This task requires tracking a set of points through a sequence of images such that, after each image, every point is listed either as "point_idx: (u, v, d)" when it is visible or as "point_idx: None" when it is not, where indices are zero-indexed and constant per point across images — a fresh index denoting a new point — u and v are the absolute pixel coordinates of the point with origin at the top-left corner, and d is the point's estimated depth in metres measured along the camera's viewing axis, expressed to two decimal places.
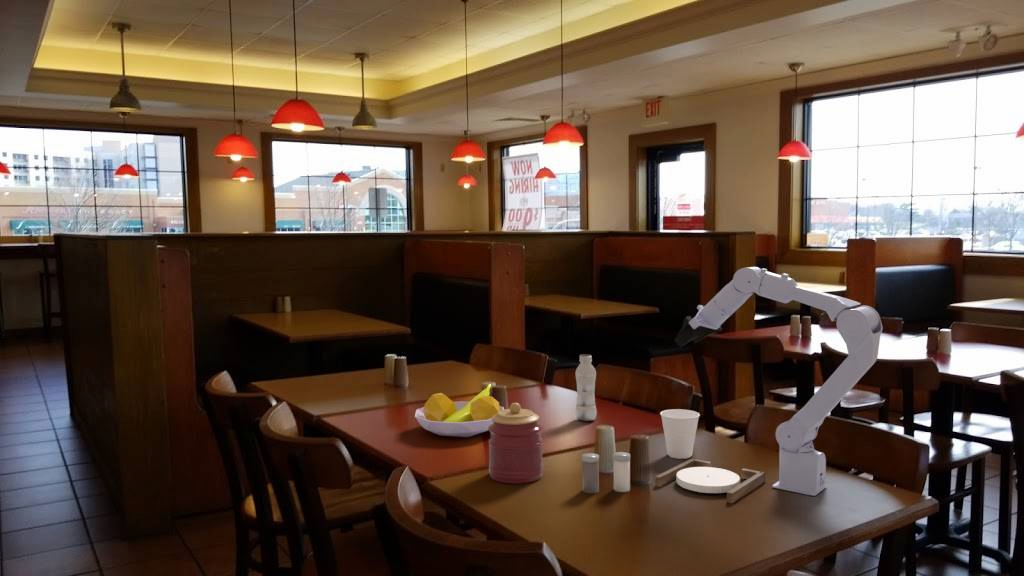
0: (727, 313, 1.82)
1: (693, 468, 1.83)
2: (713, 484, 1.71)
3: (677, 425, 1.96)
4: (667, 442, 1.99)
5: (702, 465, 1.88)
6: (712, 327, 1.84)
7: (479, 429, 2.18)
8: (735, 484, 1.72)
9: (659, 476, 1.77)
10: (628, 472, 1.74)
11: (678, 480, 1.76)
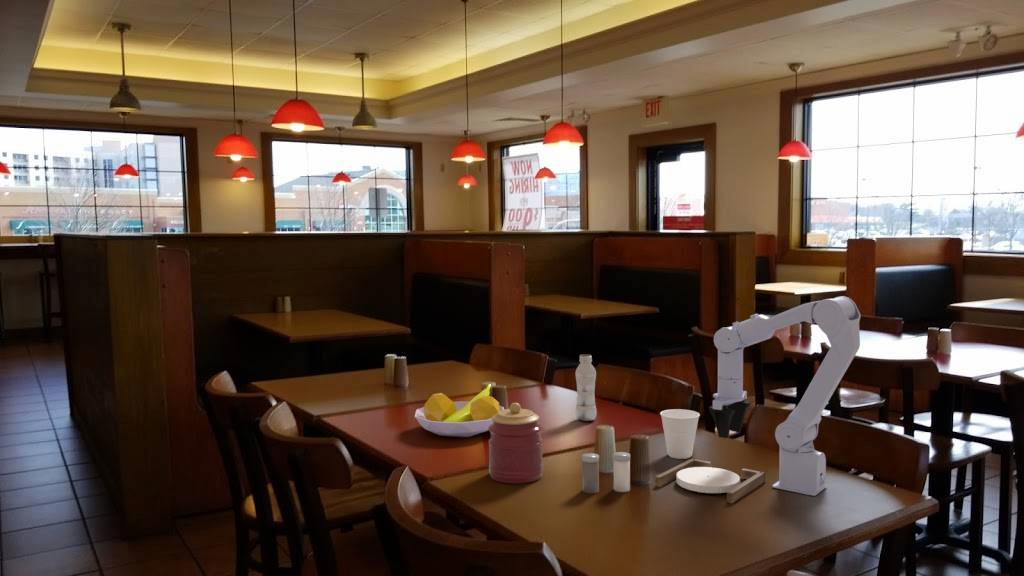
0: (737, 378, 1.82)
1: (693, 468, 1.83)
2: (713, 484, 1.71)
3: (677, 425, 1.96)
4: (667, 442, 1.99)
5: (702, 465, 1.88)
6: (736, 400, 1.82)
7: (479, 429, 2.18)
8: (735, 484, 1.72)
9: (659, 476, 1.77)
10: (628, 472, 1.74)
11: (678, 480, 1.76)
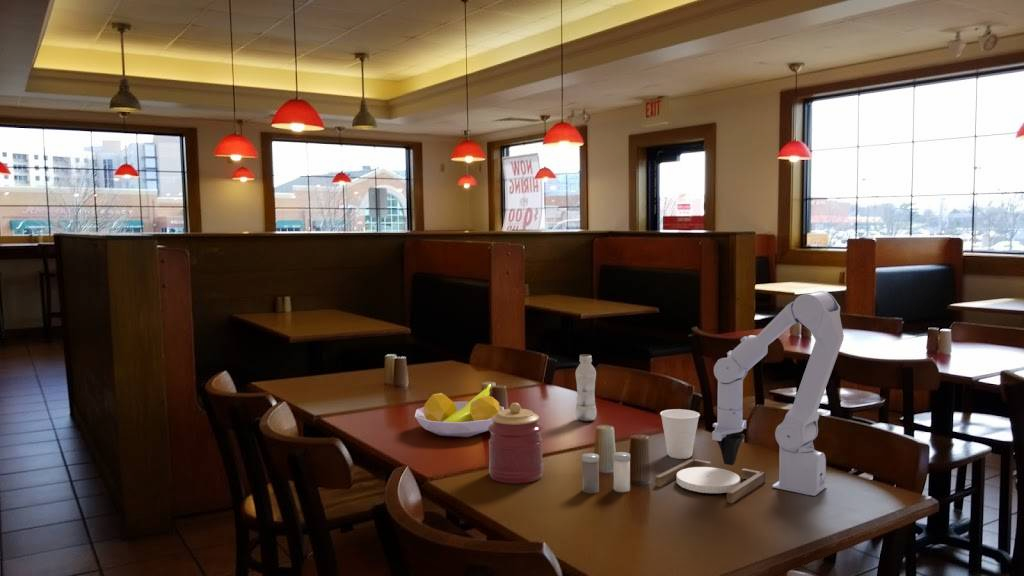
0: (737, 409, 1.82)
1: (693, 468, 1.83)
2: (714, 484, 1.71)
3: (677, 425, 1.96)
4: (667, 442, 1.99)
5: (702, 465, 1.88)
6: (736, 430, 1.82)
7: (479, 429, 2.18)
8: (735, 484, 1.72)
9: (659, 476, 1.77)
10: (628, 472, 1.74)
11: (678, 480, 1.76)
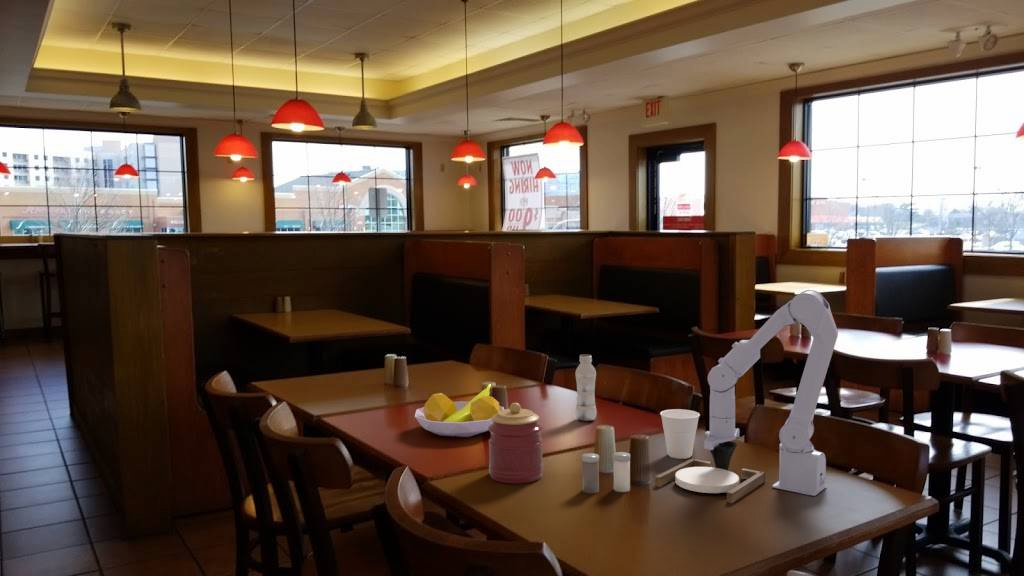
0: (729, 417, 1.79)
1: (692, 468, 1.82)
2: (712, 484, 1.71)
3: (677, 425, 1.96)
4: (667, 442, 1.99)
5: (702, 465, 1.88)
6: (728, 439, 1.79)
7: (479, 429, 2.18)
8: (734, 484, 1.72)
9: (659, 476, 1.77)
10: (628, 472, 1.74)
11: (677, 480, 1.76)
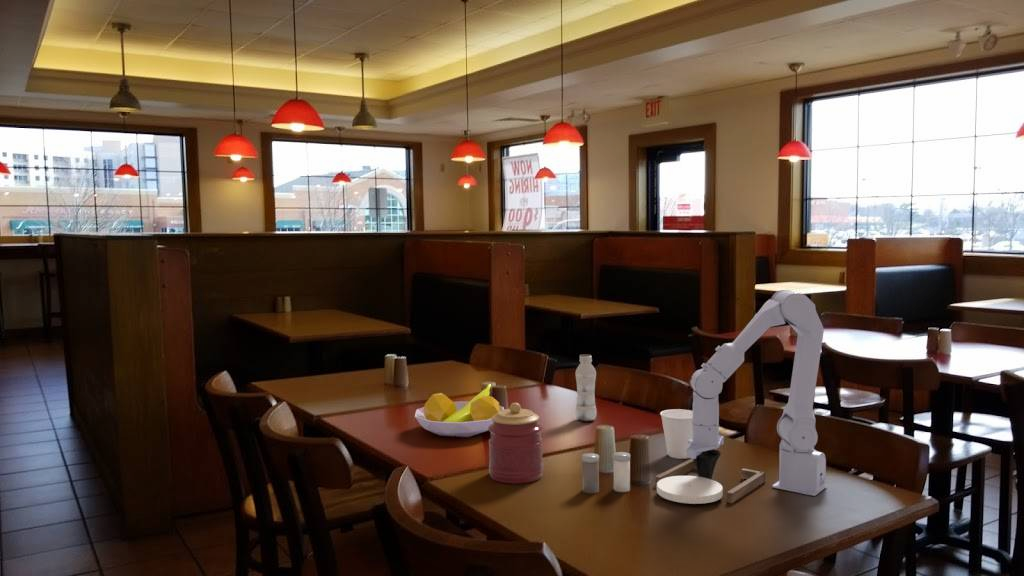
0: (712, 425, 1.73)
1: (675, 477, 1.76)
2: (694, 494, 1.64)
3: (677, 425, 1.96)
4: (667, 442, 1.99)
5: None
6: (711, 447, 1.73)
7: (479, 429, 2.18)
8: (717, 494, 1.65)
9: (659, 476, 1.77)
10: (628, 472, 1.74)
11: (658, 490, 1.69)
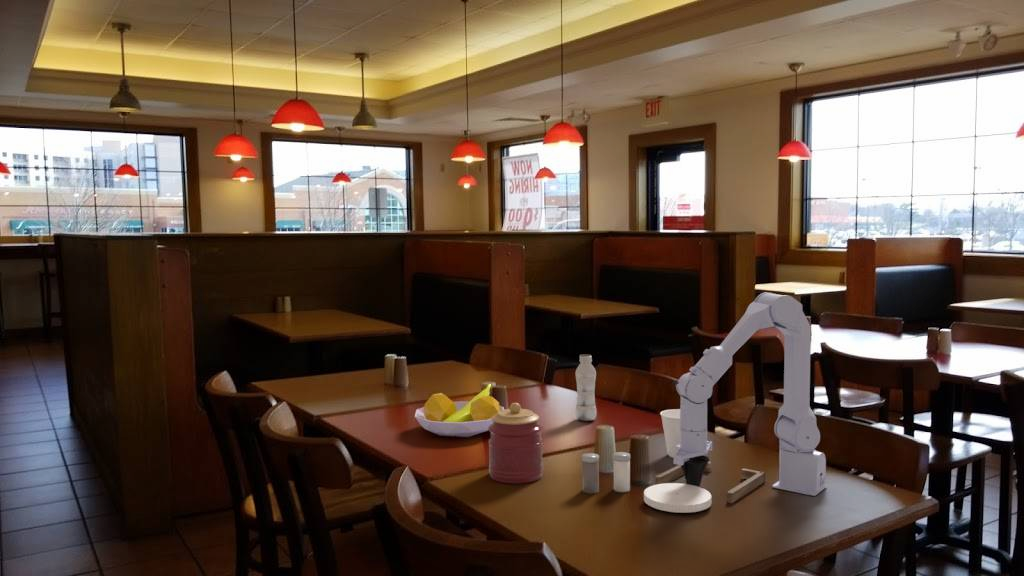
0: (700, 430, 1.68)
1: (663, 484, 1.71)
2: (682, 503, 1.60)
3: (677, 425, 1.96)
4: (667, 442, 1.99)
5: None
6: (699, 453, 1.68)
7: (479, 429, 2.18)
8: (705, 503, 1.61)
9: (659, 476, 1.77)
10: (628, 472, 1.74)
11: (645, 498, 1.65)
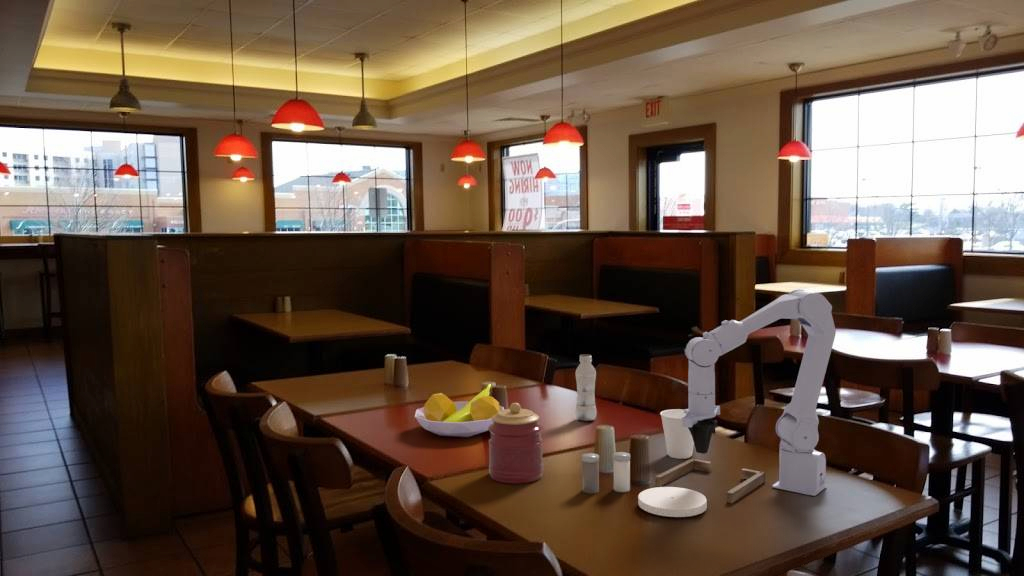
0: (708, 393, 1.70)
1: (658, 488, 1.69)
2: (676, 507, 1.58)
3: (677, 425, 1.96)
4: (667, 442, 1.99)
5: (702, 465, 1.88)
6: (708, 416, 1.70)
7: (479, 429, 2.18)
8: (700, 507, 1.58)
9: (659, 476, 1.77)
10: (628, 472, 1.74)
11: (640, 502, 1.63)
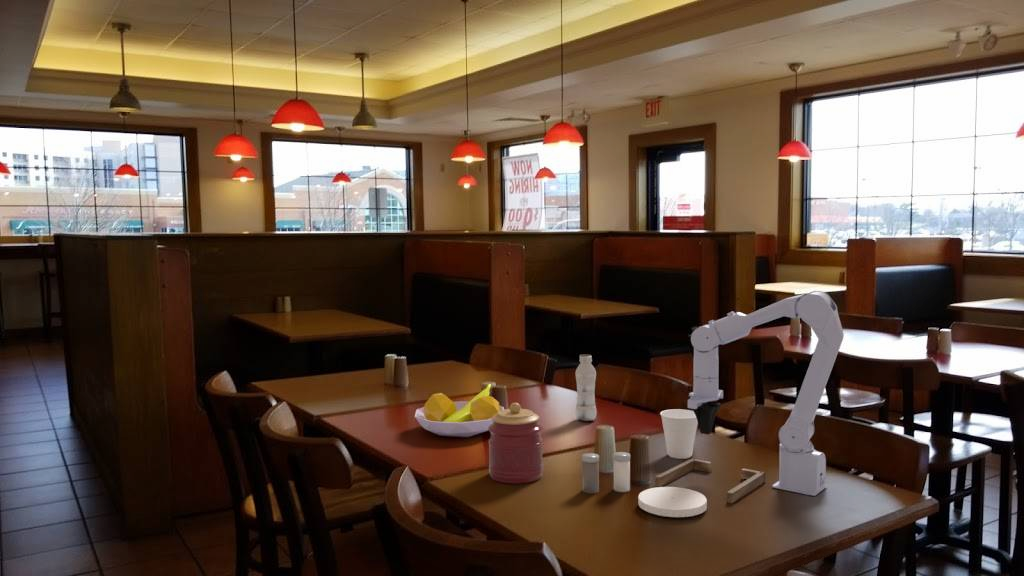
0: (712, 377, 1.81)
1: (658, 488, 1.69)
2: (677, 507, 1.58)
3: (677, 425, 1.96)
4: (667, 442, 1.99)
5: (702, 465, 1.88)
6: (711, 399, 1.81)
7: (479, 429, 2.18)
8: (700, 507, 1.58)
9: (659, 476, 1.77)
10: (628, 472, 1.74)
11: (640, 502, 1.63)
